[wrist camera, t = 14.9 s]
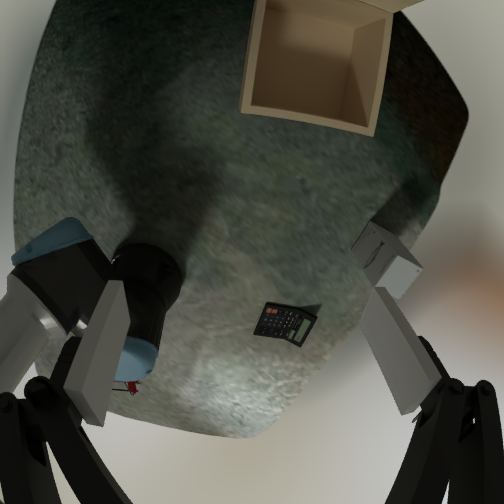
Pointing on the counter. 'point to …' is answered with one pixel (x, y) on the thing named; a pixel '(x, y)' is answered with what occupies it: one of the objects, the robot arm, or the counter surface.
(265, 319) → the calculator
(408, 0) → the flap
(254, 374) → the counter surface
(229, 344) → the counter surface
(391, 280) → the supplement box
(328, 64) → the carton
